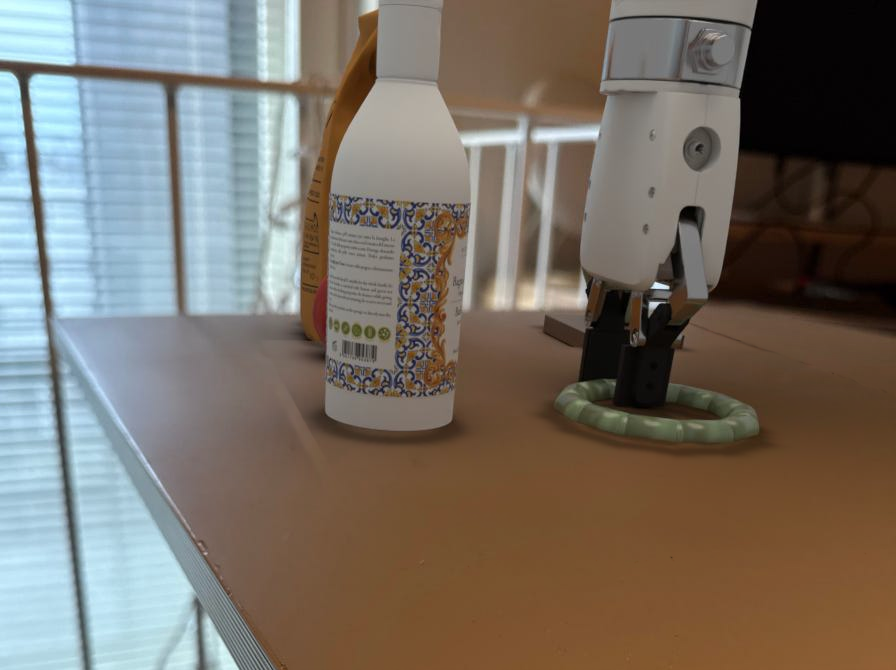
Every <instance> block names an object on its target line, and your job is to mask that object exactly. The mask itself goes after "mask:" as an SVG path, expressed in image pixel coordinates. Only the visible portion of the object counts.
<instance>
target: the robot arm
mask: <svg viewBox="0 0 896 670" xmlns="http://www.w3.org/2000/svg"><path fill="white" fill-rule="evenodd" d="M757 5H758V0H611V4H610V12H609V19H608V22H609V23H608V25H607V26H608V27H607V32H606V33H607V34H606V41H605V49H604V57H603V63H602V70H601V79H600V81H601V82H600V85H599V94H601V95H604V96H606V101H605V105H604V109H603V113H602V117H601V123H600V126H599V131H598V135H597V141H596V144H595V150H594V154H593V160H592V165H591V170H590V176H589V180H588V181H589V182H588V187H587V193H586V199H585V205H584V212H583V217H582V218H583V219H582V227H581V235H580V236H581V237H580V246H579V247H580V248H579V249H580V250H579V261H580V265H581V273H582V276H583V279H584V283H585V286H586V288H585V289H584V293H585V294H586V300H587V303H586V308H585V312H584V322H585V326H586V327H593V328H586V330H585V337H584V344H583V347H582V352H581V359H580V366H579V372H578V373H579V374H578V380H577V383H580V382H586V381H591V380H597V379H617V380H616V386H615V392H614V398H612V399H613V400H612V405H613V406H614V407H635V408H636V407H637V408H638V407H641V408H642V407H644V408H645V407H647V408H648V407H649V408H650V407H652V408H655V407H656V408H658V407H659V408H660V407H663V408H664V407H665V405H666V402H665V400H666V395H667V390H668V384H669V383H670V378H671V373H672V368H673V361H674V357H675V351H676V350H677V349H676V348H678V347H679V346H680V344H681V340H682V335H683V331H684V330H685V328H687V326H688V325H689V324H690V321H691V319H692V318H693V317H694V316H695V315H696V314H697V313H698V312H699V311H700V310H701V309H702V308H704V306H705V305H706V304H707V302H708V298H709V293H710V292H712V291H714V289H715V288H716V287H717V286H718V283H719V282H720V278H721V274H722V269H723V265H724V259H725V255H726V249H727V248H726V247H727V242H728V241H727V240H728V236H729V229H730V224H731V223H730V221H731V216H732V209H733V202H734V194H735V188H736V179H737V170H738V160H739V149H740V135H741V134H740V133H741V132H740V131H741V98H740V97H739V96H740V92H741V90H740V89H741V87H742V82H743V77H744V71H745V67H746V61H747V56H748V51H749V45H750V41H751V36H752V31H751V30H752V29H753V24H754V21H755V20H754V19H755V14H756V9H757ZM655 283H657V284H660V285H664V286H666V287H668V288H653V286H654V285H655ZM618 290H623V292H622V295H621V299H620V296H619V292H618ZM650 303H658V304H657V306H656V307H655V309H654V310H653V311H652V312H651V314H650ZM629 325H630V329H624V328H628V327H629Z"/></svg>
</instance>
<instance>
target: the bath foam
mask: <svg viewBox="0 0 896 670" xmlns="http://www.w3.org/2000/svg"><path fill="white" fill-rule="evenodd" d="M378 9H379V13H378V37H377V66H376V75H377V77H378V79H376V83H375V84H374V86H373V88H372V89H371V91H370V92H369V94H368V96H367V97H366V99H365V101H364V102H363V104H362V105H361V107H360V109H359V110H358V112H357V114H356V115H355V117H354V119H353V120H352V122H351V124H350V126H349V127H348V129H347V131H346V133H345V135H344V137H343V140H342V142H341V144H340V147H339V150H338V153H337V156H336V160H335V163H334V168H333V173H332V180H331V191H330V193H329V234H328V277H327V321H326V346H325V363H324V365H325V368H324V369H325V370H324V371H325V372H324V374H325V375H324V380H325V398H324V399H325V400H324V412H325V414H326V416H328V417H329V418H330V419H332V420H334V421H337V422H339V423H342V424H345V425H349V426H353V427H358V428H363V429H364V428H365V429H371V430H379V431H393V432H414V431H415V432H417V431H425V430H433V429H438V428H441V427H444V426H446V425H449V424H451V422H452V421H453V416H454V405H455V404H454V403H455V392H456V383H457V371H458V370H457V369H458V361H459V348H460V337H461V324H462V314H463V313H462V312H463V303H464V288H465V277H466V267H467V266H466V264H467V253H468V241H469V229H470V218H471V208H472V207H471V205H472V202H471V194H472V191H471V190H472V189H471V176H470V169H469V167H470V166H469V161H468V157H467V154H466V150H465V147H464V144H463V141H462V138H461V136H460V134H459V133H460V132H459V131H458V129H457V125H456V124H455V121H454V119H453V117H452V115H451V112H450V111H449V109H448V107H447V105H446V102H445V100H444V98H443V96H442V93H441V92H440V90H439V84H438V83H437V82H438V79H439V71H440V58H441V57H440V56H441V39H442V38H441V37H442V35H441V30H442V16H443V15H442V13H443V9H444V0H378Z"/></svg>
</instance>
